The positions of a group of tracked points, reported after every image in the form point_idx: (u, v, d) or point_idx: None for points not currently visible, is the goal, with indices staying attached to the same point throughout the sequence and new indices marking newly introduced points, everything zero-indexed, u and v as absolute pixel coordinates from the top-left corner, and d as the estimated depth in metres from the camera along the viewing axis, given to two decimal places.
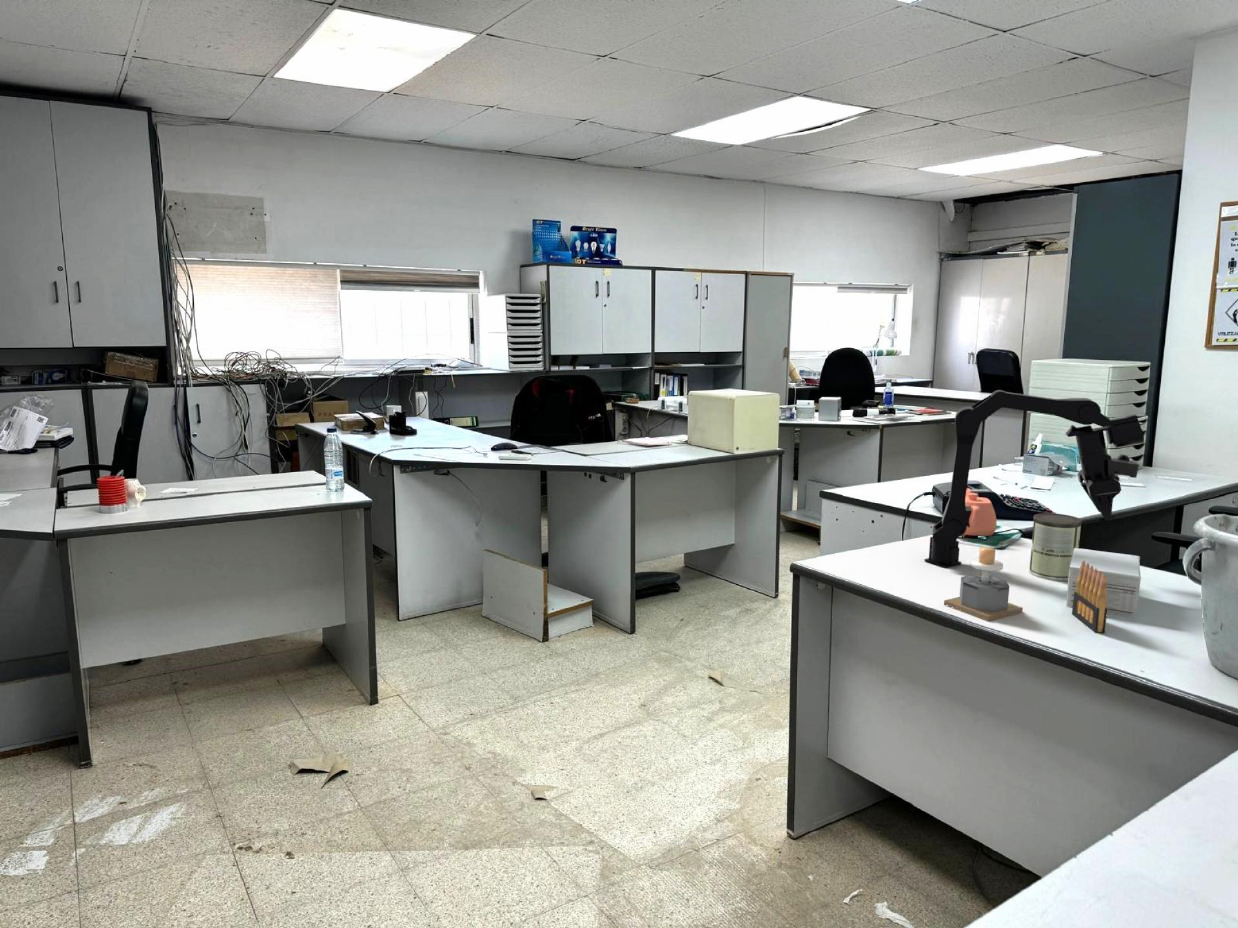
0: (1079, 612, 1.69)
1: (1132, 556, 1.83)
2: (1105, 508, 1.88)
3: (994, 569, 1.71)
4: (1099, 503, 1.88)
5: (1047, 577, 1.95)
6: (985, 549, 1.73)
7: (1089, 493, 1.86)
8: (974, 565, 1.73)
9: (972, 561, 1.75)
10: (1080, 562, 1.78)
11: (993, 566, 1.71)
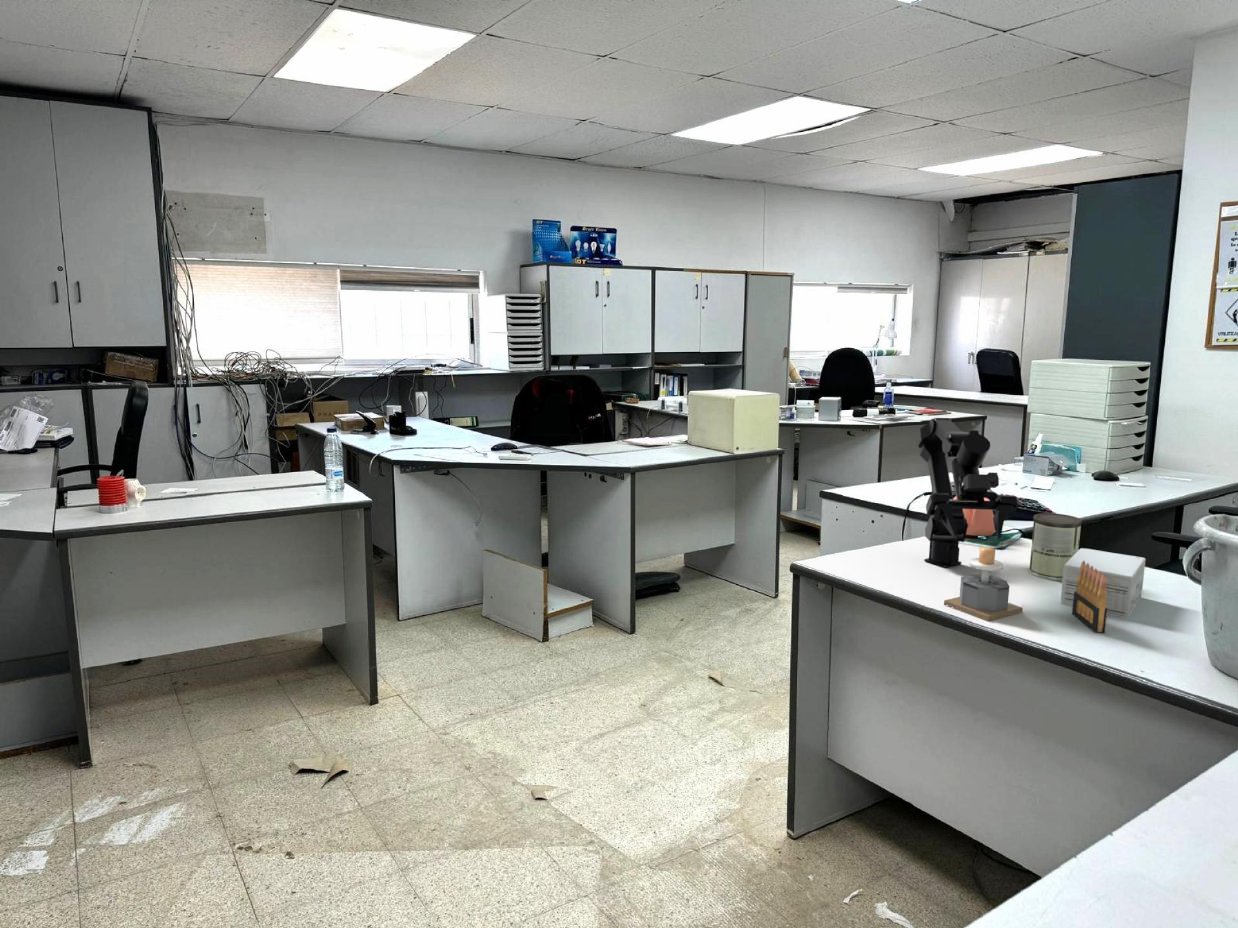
0: (1079, 612, 1.69)
1: (1137, 558, 1.81)
2: (948, 525, 1.83)
3: (994, 569, 1.71)
4: (944, 522, 1.85)
5: (1047, 577, 1.95)
6: (985, 549, 1.73)
7: (933, 514, 1.88)
8: (974, 565, 1.73)
9: (972, 561, 1.75)
10: (1077, 561, 1.79)
11: (993, 566, 1.71)
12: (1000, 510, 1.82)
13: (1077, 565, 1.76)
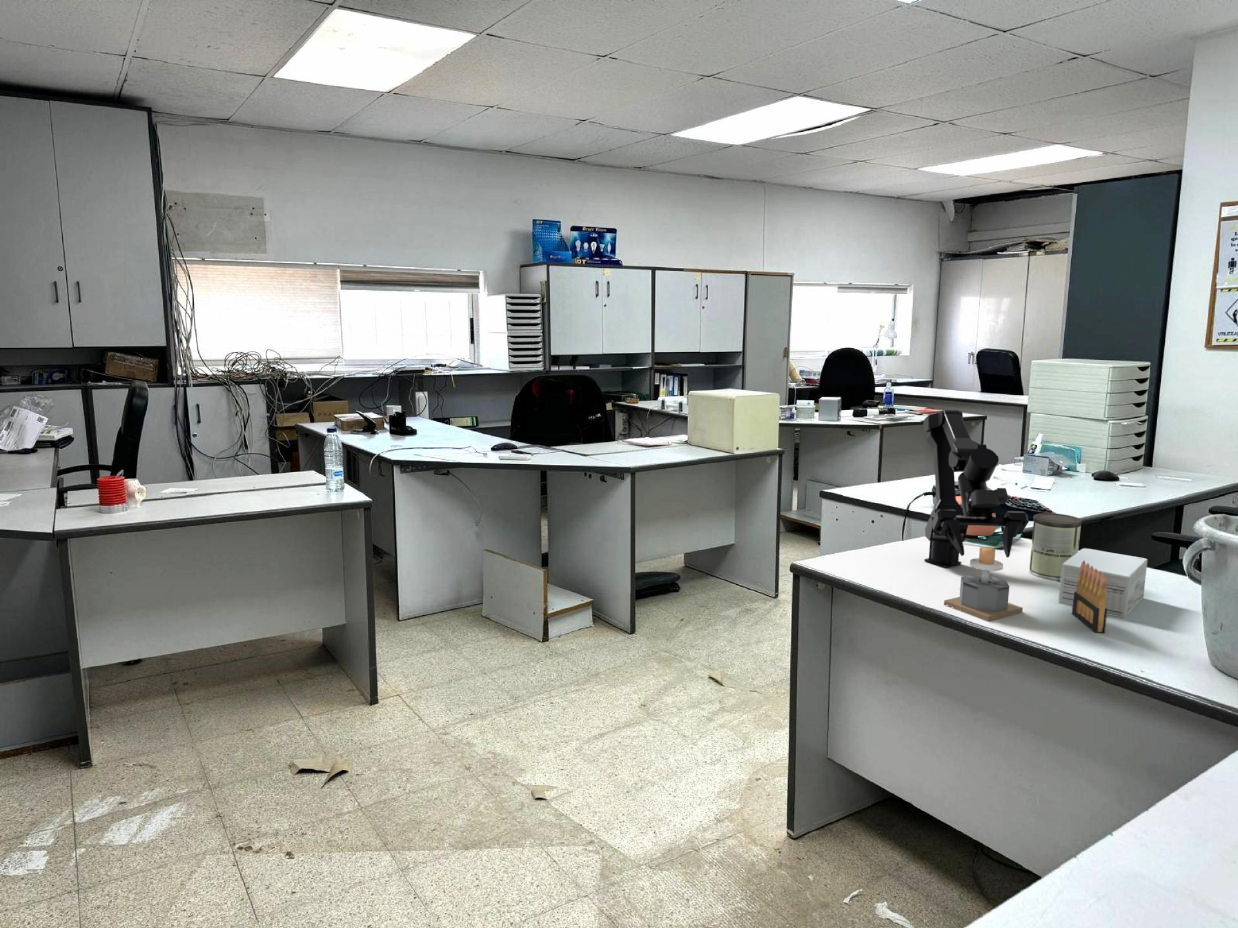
0: (1079, 612, 1.69)
1: (1139, 558, 1.81)
2: (955, 542, 1.77)
3: (994, 569, 1.71)
4: (951, 539, 1.79)
5: (1047, 577, 1.95)
6: (985, 549, 1.73)
7: (939, 531, 1.82)
8: (974, 565, 1.73)
9: (972, 561, 1.75)
10: (1076, 560, 1.79)
11: (993, 566, 1.71)
12: (1009, 527, 1.76)
13: (1075, 564, 1.77)
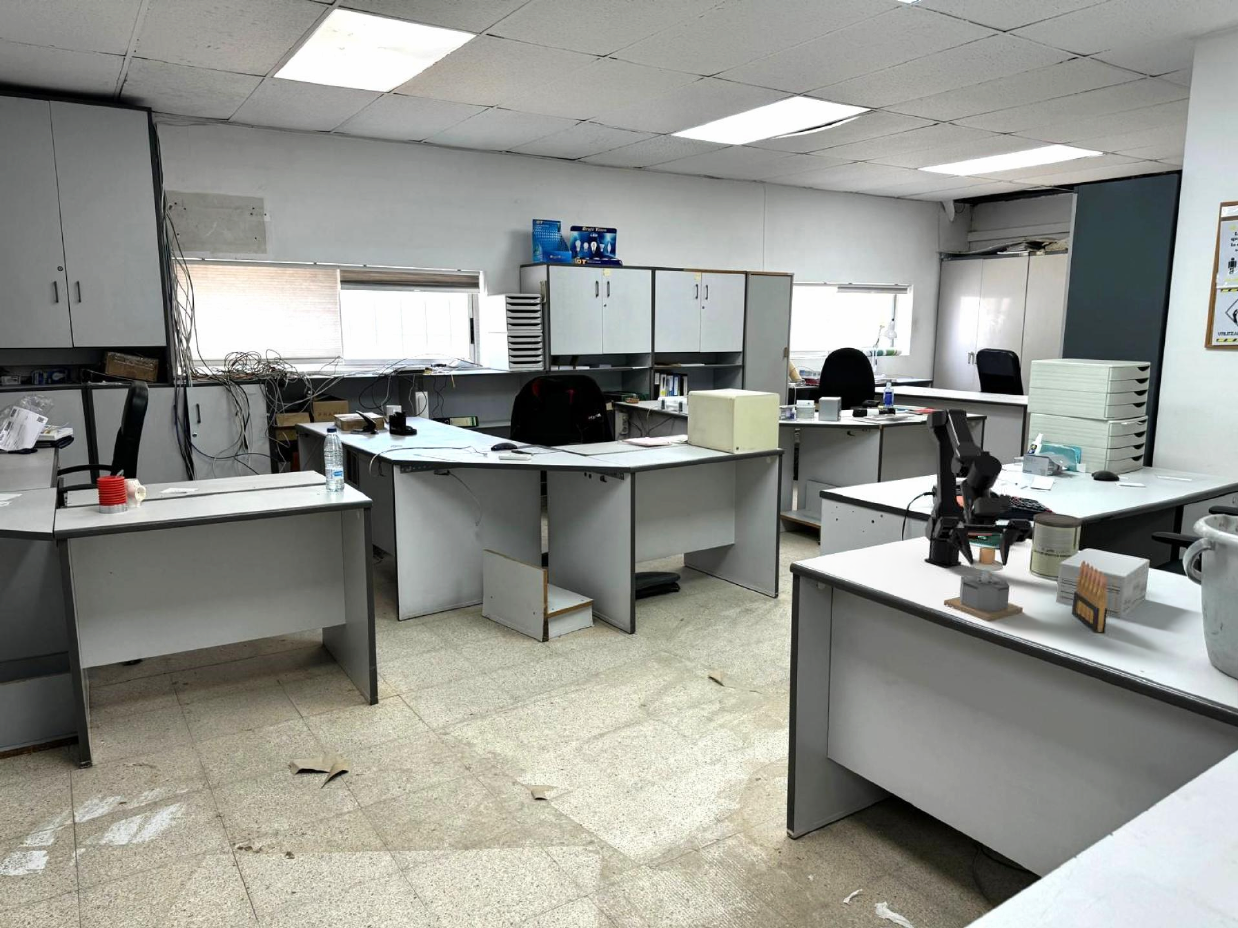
0: (1079, 612, 1.69)
1: (1140, 559, 1.80)
2: (964, 551, 1.75)
3: (994, 569, 1.71)
4: (959, 547, 1.77)
5: (1047, 577, 1.95)
6: (985, 549, 1.73)
7: None
8: (974, 565, 1.73)
9: None
10: (1075, 560, 1.80)
11: (993, 566, 1.71)
12: (1006, 535, 1.74)
13: (1073, 564, 1.77)
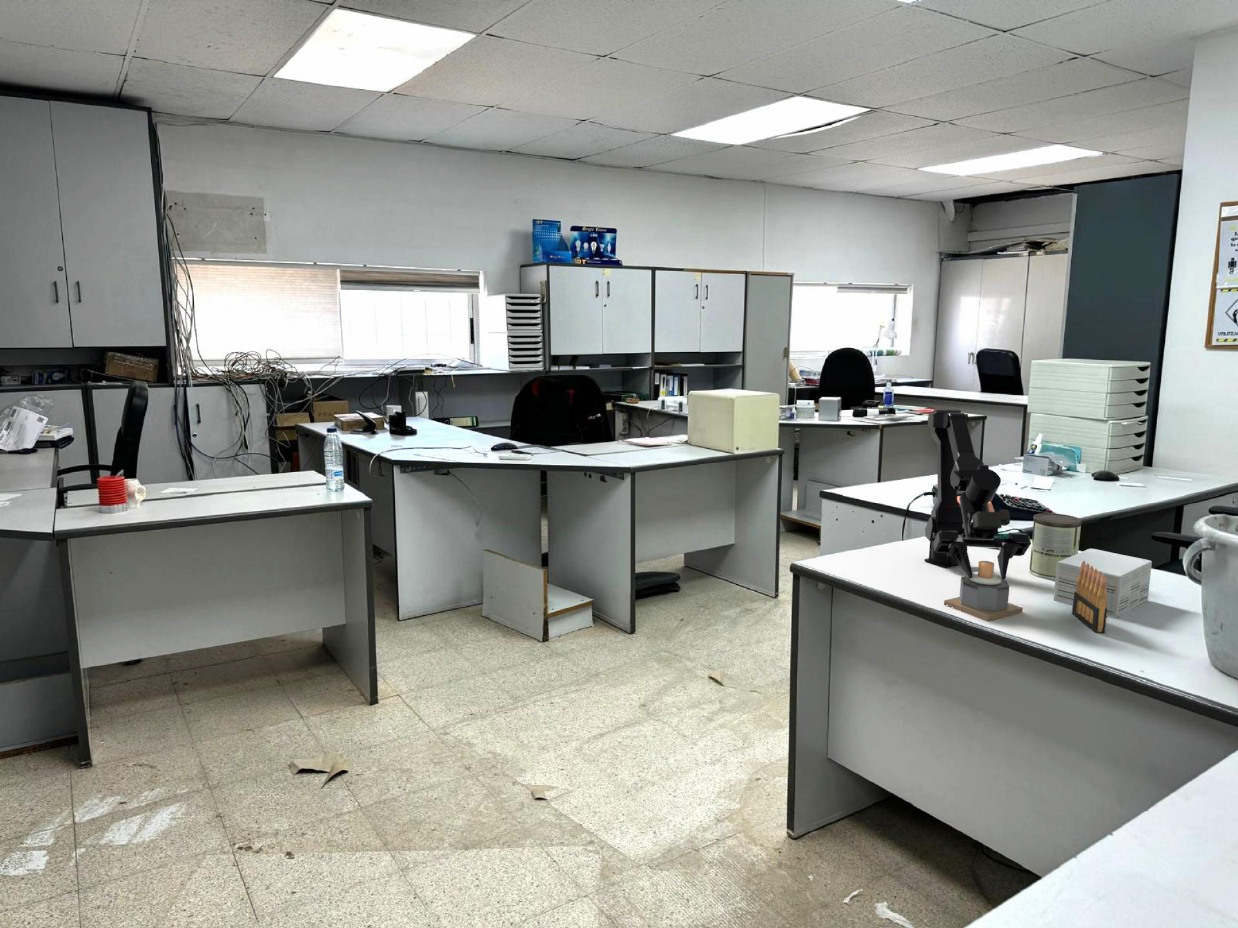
0: (1079, 612, 1.69)
1: (1142, 560, 1.80)
2: (963, 564, 1.76)
3: (993, 583, 1.71)
4: (958, 561, 1.77)
5: (1047, 577, 1.95)
6: (984, 563, 1.74)
7: None
8: (973, 579, 1.73)
9: None
10: (1073, 559, 1.80)
11: (992, 580, 1.72)
12: (1005, 549, 1.74)
13: (1070, 563, 1.78)
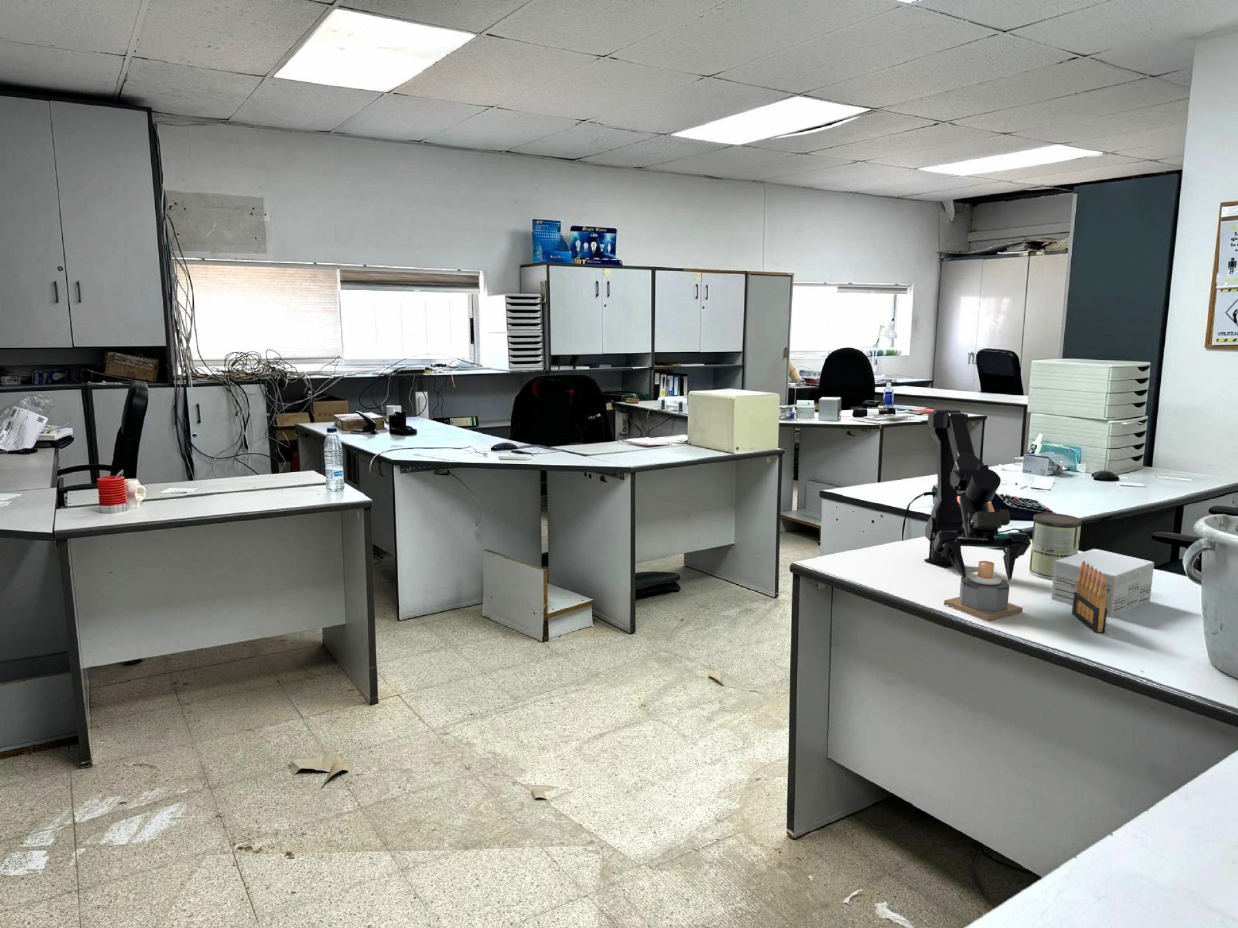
0: (1079, 612, 1.69)
1: (1144, 561, 1.79)
2: (956, 564, 1.76)
3: (993, 583, 1.71)
4: (952, 560, 1.78)
5: (1047, 577, 1.95)
6: (984, 563, 1.74)
7: None
8: (973, 579, 1.73)
9: (971, 575, 1.75)
10: (1072, 558, 1.81)
11: (992, 580, 1.72)
12: (1011, 549, 1.74)
13: (1068, 562, 1.79)
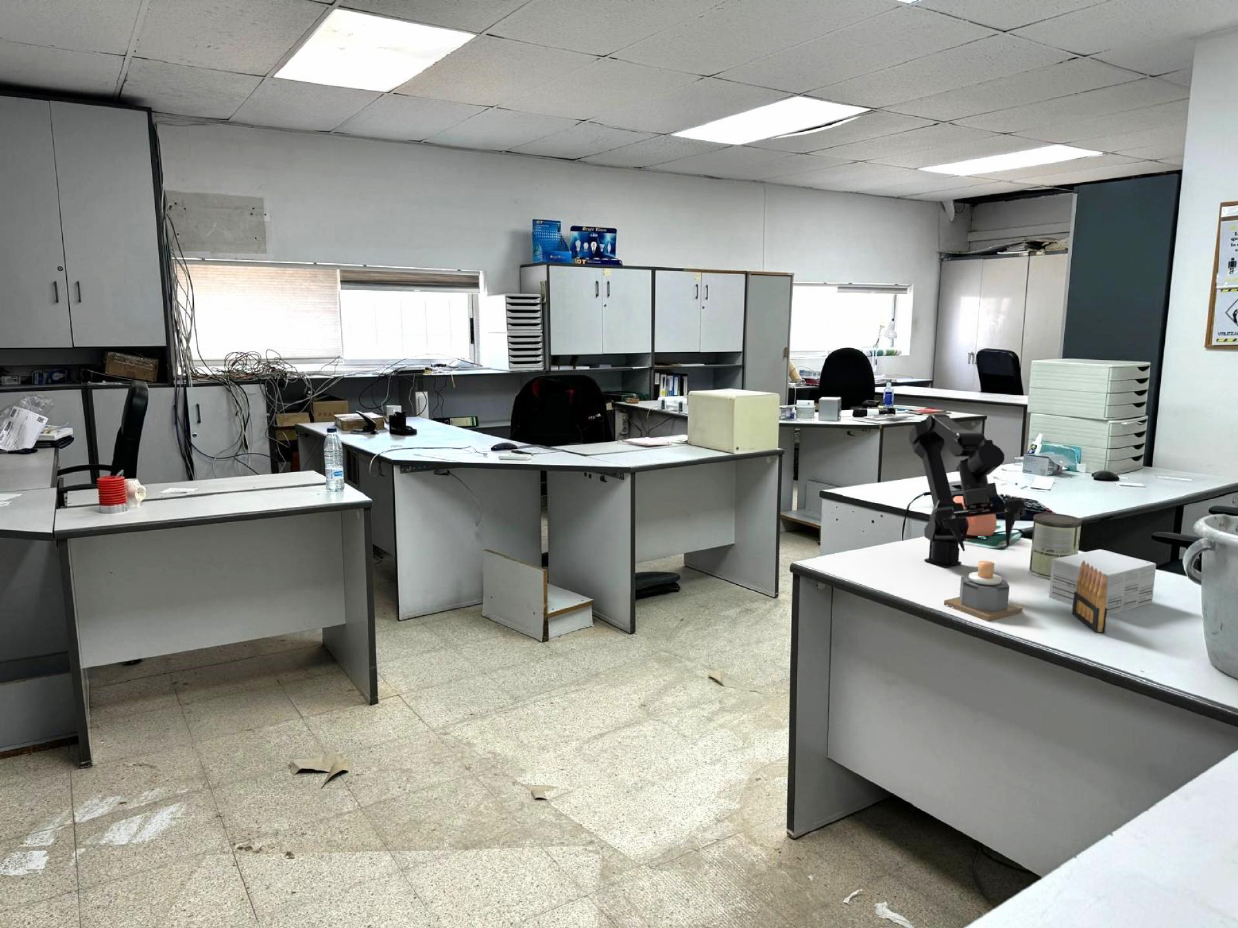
0: (1079, 612, 1.69)
1: (1146, 562, 1.78)
2: None
3: (993, 583, 1.71)
4: (954, 533, 1.89)
5: (1047, 577, 1.95)
6: (984, 563, 1.74)
7: None
8: (973, 579, 1.73)
9: (971, 575, 1.75)
10: (1071, 557, 1.82)
11: (992, 580, 1.72)
12: (1006, 517, 1.82)
13: (1065, 560, 1.80)
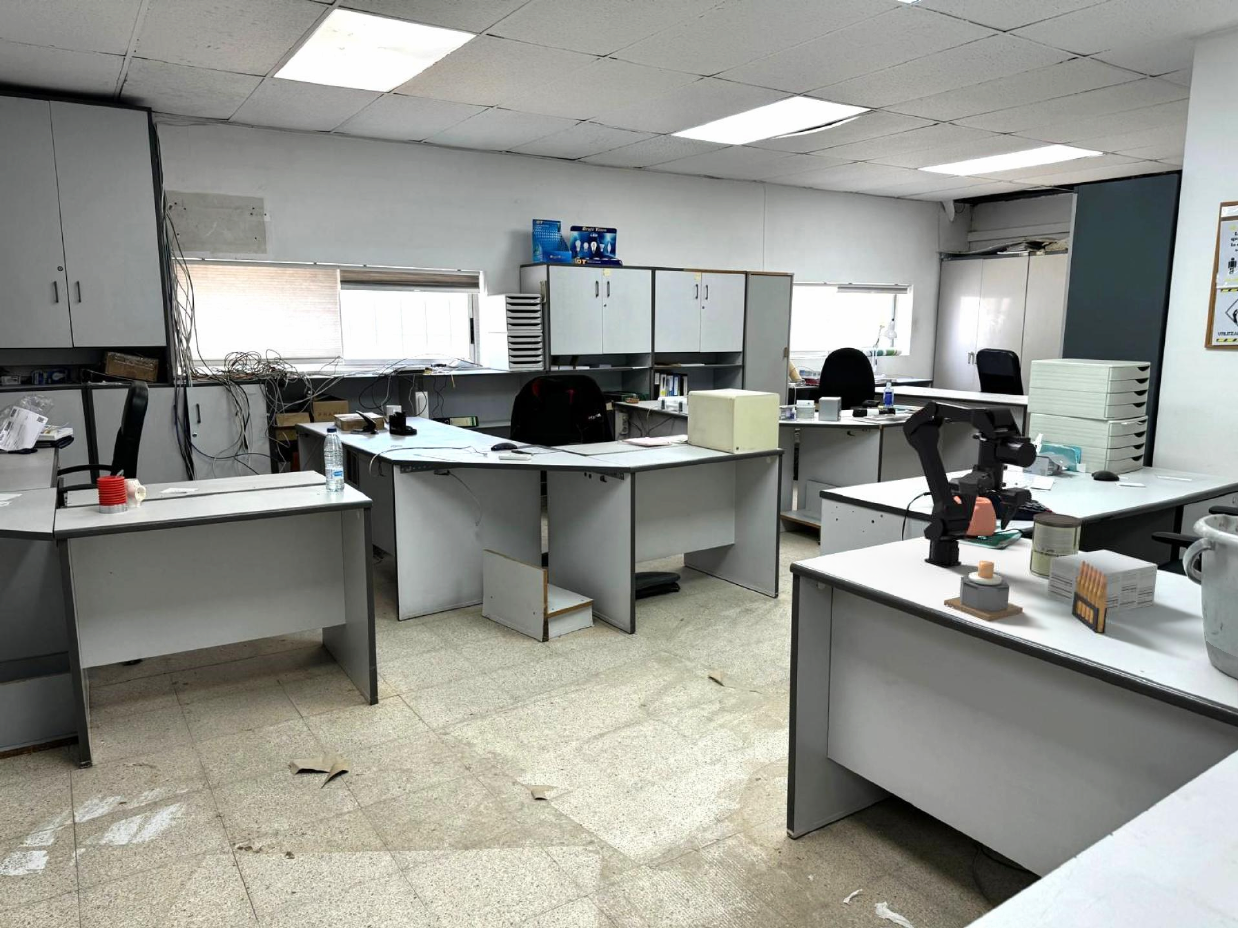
0: (1079, 612, 1.69)
1: (1147, 563, 1.77)
2: None
3: (993, 583, 1.71)
4: None
5: (1047, 577, 1.95)
6: (984, 563, 1.74)
7: None
8: (973, 579, 1.73)
9: (971, 575, 1.75)
10: (1071, 557, 1.82)
11: (992, 580, 1.72)
12: (1001, 506, 1.87)
13: (1063, 559, 1.80)
